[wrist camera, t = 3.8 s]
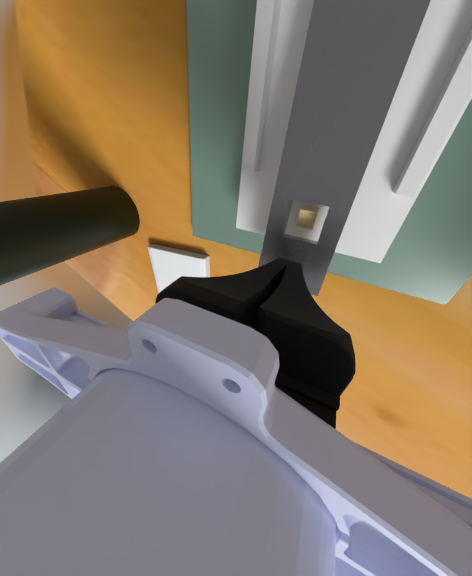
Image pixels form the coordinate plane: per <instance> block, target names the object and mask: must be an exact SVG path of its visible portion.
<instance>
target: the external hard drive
mask: <svg viewBox="0 0 472 576" xmlns="http://www.w3.org/2000/svg"><path fill="white" fill-rule="evenodd" d="M148 250H149V254H150V259H151V263H152V267H153V271H154V275H155V280H156V284H157V288H158V293H160V292H161V291H162V290H163V289H165V288H166V287H167V286H169V285H170V284H171V283H173V282H174V281H175V280H177V279H178V278H179V277H181V276H186V277H210V263H209V256H208V255H203V254H199V253H194V252H189V251H185V250H180V249H175V248H170V247H166V246H161V245H157V244H151V245H149V246H148Z"/></svg>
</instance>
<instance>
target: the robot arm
mask: <svg viewBox="0 0 472 576" xmlns="http://www.w3.org/2000/svg"><path fill="white" fill-rule="evenodd" d="M0 338H1V339H2V340H3V341H4V342H5V344H6V345H7V346H8V347H9V349H10V350H11V351H12V352H13V354H14V355H15V356H16V357H17V358H18V359H19V360H20V361H21V362H23V363H24V364H26V365H27V366H29V367H30V368H32V369H33V370H34V371H36V372H37V373H39V374H40V375H41V376H43V377H44V378H45V379H47V380H48V381H50V382H51V383H52V384H53V385H54V386H56V387H57V388H58V389H60V390H61V391H62V392H63V393H65V394H66V395H67V396H68V397H70V398H71V400H70V401H69V402H68V403H67V404H66V405H65V406H64V407H63V408H61V409H60V410H59V411H58V412H57V413H56V414H55V415H54V416H52V417H51V418H50V419H49V420H48V421H47V422H46V423H45V424H44V425H42V426H41V427H40V428H39V429H38V430H37V431H36V432H35V433H33V434H32V435H31V436H30V437H29V438H28V439H27V440H26V441H24V442H23V443H22V444H21V445H20V446H19V447H18V448H17V449H16V450H14V451H13V452H12V453H11V454H10V455H9V456H8V457H7V458H5V459H4V460H3V461H2V462H1V463H0V576H472V499H471V498H469V497H467V496H464V495H462V494H460V493H458V492H456V491H454V490H452V489H450V488H448V487H446V486H444V485H442V484H440V483H437V482H435V481H433V480H431V479H429V478H427V477H425V476H423V475H421V474H419V473H417V472H415V471H413V470H410V469H408V468H406V467H404V466H402V465H400V464H398V463H396V462H394V461H392V460H390V459H388V458H386V457H383V456H381V455H379V454H377V453H375V452H373V451H371V450H369V449H367V448H365V447H363V446H361V445H358V444H356V443H354V442H352V441H351V440H349V439H348V438H347V437H345V436H344V435H343V434H341V433H340V432H338V431H337V430H336V429H335V428H336V411H337V410H338V409H339V406H340V395H341V394H342V393H343V391H344V390H345V389H346V387H347V386H348V384H349V383H350V382H351V380H352V379H353V376H354V374H355V354H354V349H353V345H352V340H351V336H350V334H349V333H348V332H346V331H345V330H344V329H343V328H341V327H340V326H339V325H337V324H336V323H335V322H334V321H333V320H331V319H330V318H329V317H328V316H327V315H326V314H325V313H324V312H323V311H322V310H321V308H320V307H319V306H318V305H317V303H316V302H315V301H314V299H313V298H312V296H311V294H310V292H309V290H308V287H307V285H306V282H305V279H304V275H303V265H302V264H301V263H297V262H294V261H290V260H286V259H283V258H278V259H276V260H274V261H272V262H270V263H267V264H265V265H263V266H261V267H258V268H255V269H253V270H250V271H247V272H243V273H239V274H235V275H228V276H221V277H186V276H181V277H179V278H178V279H177V280H175V281H174V282H173V283H171V284H170V285H169V286H167V287H166V288H165V289H163V290H162V291H161V292H160V293H159V294H158V295H157V298H156V304H155V305H154V306H153V307H151V308H150V309H149V310H148V311H146V312H145V313H144V314H142V315H141V316H140V317H139V318H137V319H136V320H135V321H134V322H132V323H131V324H130V325H129V326H128V330H124V329H117V328H115V327H113V326H111V325H109V324H107V323H105V322H103V321H101V320H99V319H97V318H95V317H92V316H90V315H88V314H86V313H84V312H82V311H80V310H78V305H77V303H76V301H75V299H74V298H73V297H72V296H71V295H69V294H67V293H65V292H63V291H61V290H59V289H56V288H51V289H49V290H46V291H45V292H42V293H40V294H38V295H35V296H33V297H31V298H29V299H27V300H24V301H22V302H20V303H18V304H16V305H13V306H11V307H9V308H7V309H5V310H2V311H0Z"/></svg>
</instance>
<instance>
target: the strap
mask: <svg viewBox="0 0 472 576" xmlns="http://www.w3.org/2000/svg"><path fill="white" fill-rule="evenodd" d="M430 1H431V0H314V4H313V8H312V13H311V18H310V23H309V27H308V32H307V37H306V42H305V46H304V51H303V56H302V61H301V66H300V70H299V75H298V80H297V85H296V89H295V94H294V99H293V104H292V109H291V113H290V118H289V123H288V128H287V132H286V137H285V142H284V147H283V151H282V156H281V161H280V166H279V171H278V175H277V180H276V185H275V190H274V194H273V199H272V204H271V209H270V213H269V218H268V223H267V228H266V233H265V237H264V242H263V247H262V252H261V256H260V261H259V266H258V267H261V266H263V265H265V264H267V263H270V262H272V261H274V260H276V259H278V258H283V259H286V260H290V261H294V262H297V263H301V264H302V265H303V275H304V279H305V282H306V285H307V287H308V290H309V292H310V294H313V295H316V296H318V293H319V291H320V288H321V286H322V283H323V280H324V278H325V275H326V273H327V270H328V267H329V265H330V262H331V259H332V257H333V254H334V252H335V249H336V246H337V244H338V241H339V239H340V236H341V233H342V231H343V228H344V226H345V223H346V220H347V218H348V215H349V213H350V210H351V207H352V205H353V202H354V199H355V197H356V194H357V192H358V189H359V186H360V184H361V181H362V179H363V176H364V173H365V171H366V168H367V166H368V163H369V160H370V158H371V155H372V152H373V150H374V147H375V145H376V142H377V139H378V137H379V134H380V132H381V129H382V126H383V124H384V121H385V119H386V116H387V113H388V111H389V108H390V106H391V103H392V100H393V98H394V95H395V92H396V90H397V87H398V85H399V82H400V79H401V77H402V74H403V72H404V69H405V66H406V64H407V61H408V59H409V56H410V53H411V51H412V48H413V46H414V43H415V40H416V38H417V35H418V32H419V30H420V27H421V25H422V22H423V19H424V17H425V14H426V12H427V9H428V6H429V4H430ZM293 200H297V201H302V202H307V203H313V204H318V205H324V206H329V209H328V212H327V215H326V218H325V221H324V224H323V227H322V230H321V233H320V236H319V239H318V241H313V240H309V239H305V238H301V237H296V236H292V235H288V234H285V230H286V226H287V222H288V218H289V214H290V210H291V206H292V202H293Z"/></svg>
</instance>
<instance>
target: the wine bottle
mask: <svg viewBox="0 0 472 576" xmlns="http://www.w3.org/2000/svg"><path fill="white" fill-rule="evenodd" d="M138 228H139V215H138V212H137V209H136V207H135V205H134V203H133V201H132V200H131V198H130V197H129V196H128V195H127V194H126V193H125V192H124V191H123V190H121V189H119V188H117V187H104V188H97V189H90V190H83V191H75V192H68V193H61V194H54V195H47V196H40V197H33V198H25V199H19V200H11V201H4V202H0V285H2V284H5V283H8V282H10V281H13V280H15V279H18V278H21V277H23V276H26V275H29V274H31V273H34V272H37V271H39V270H42V269H45V268H47V267H50V266H52V265H55V264H58V263H60V262H63V261H66V260H68V259H71V258H74V257H76V256H79V255H81V254H84V253H87V252H89V251H92V250H95V249H97V248H100V247H103V246H105V245H108V244H110V243H113V242H116V241H118V240H121V239H124V238H126V237H129V236H131V235H134V234H135V233H136V232H137V231H138Z"/></svg>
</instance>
